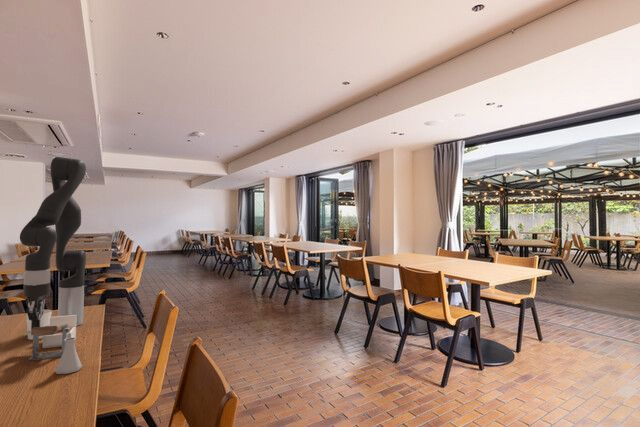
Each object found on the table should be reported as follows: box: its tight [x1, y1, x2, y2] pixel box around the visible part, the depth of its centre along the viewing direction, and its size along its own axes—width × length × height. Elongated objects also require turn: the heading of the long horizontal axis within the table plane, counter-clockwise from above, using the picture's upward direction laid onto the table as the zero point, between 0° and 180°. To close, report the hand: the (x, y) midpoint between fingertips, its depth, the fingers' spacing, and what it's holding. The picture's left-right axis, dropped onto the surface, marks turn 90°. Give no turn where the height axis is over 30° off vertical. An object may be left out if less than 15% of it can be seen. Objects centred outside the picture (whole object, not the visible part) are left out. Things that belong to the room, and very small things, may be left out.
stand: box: [28, 326, 69, 362], centre depth 122 cm, size 5×11×10 cm, turn 115°
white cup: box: [26, 309, 53, 341], centre depth 140 cm, size 8×8×10 cm
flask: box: [54, 337, 83, 375], centre depth 112 cm, size 7×7×10 cm
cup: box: [41, 315, 77, 349], centre depth 135 cm, size 10×9×9 cm
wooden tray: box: [24, 324, 68, 337], centre depth 121 cm, size 18×12×3 cm, turn 26°
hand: (35, 330), depth 126 cm, fingers closed
